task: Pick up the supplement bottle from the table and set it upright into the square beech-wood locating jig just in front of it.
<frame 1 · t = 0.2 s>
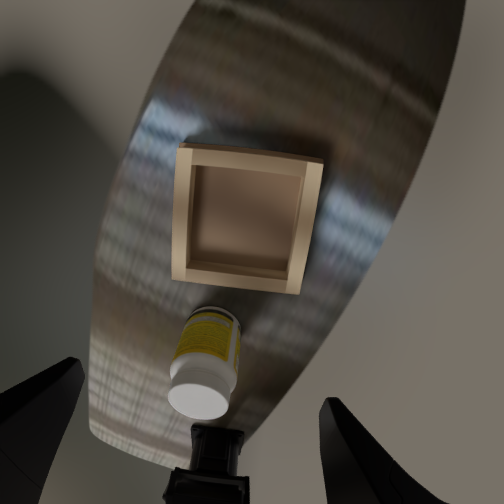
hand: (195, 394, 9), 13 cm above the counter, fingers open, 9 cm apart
jig cradle: (243, 215, 20), on the counter
supplement bottle: (214, 326, 24), on the counter
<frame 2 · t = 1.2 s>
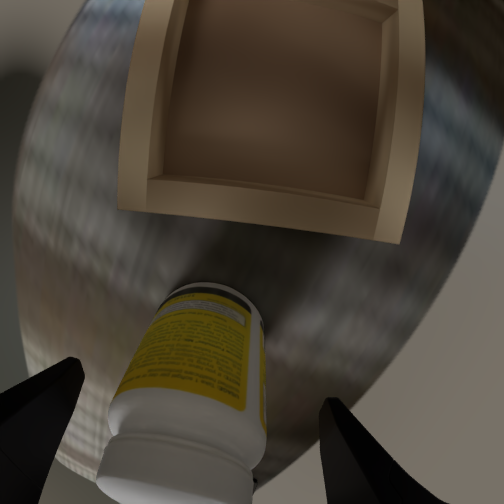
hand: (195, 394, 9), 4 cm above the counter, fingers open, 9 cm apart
jig cradle: (276, 87, 9), on the counter
supplement bottle: (211, 324, 13), on the counter
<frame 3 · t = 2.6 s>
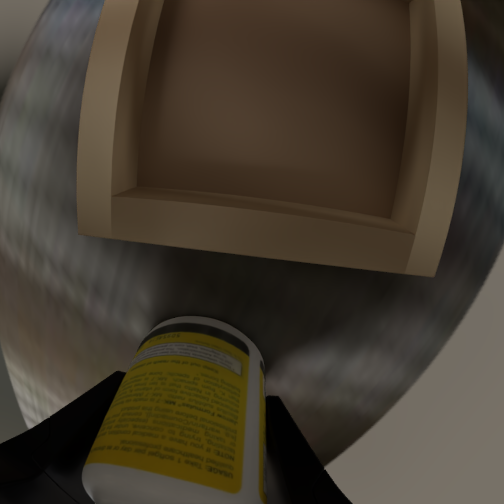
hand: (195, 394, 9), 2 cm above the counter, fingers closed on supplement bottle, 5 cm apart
jig cradle: (281, 74, 7), on the counter
supplement bottle: (203, 360, 10), on the counter, touching gripper
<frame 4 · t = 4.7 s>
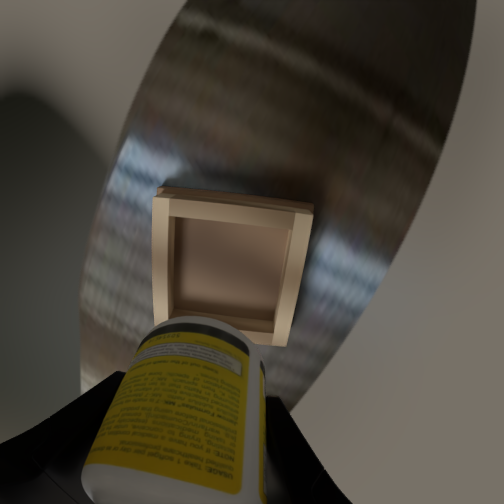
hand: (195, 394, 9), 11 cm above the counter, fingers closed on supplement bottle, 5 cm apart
jig cradle: (228, 264, 19), on the counter
supplement bottle: (203, 360, 10), point 9 cm above the counter, touching gripper
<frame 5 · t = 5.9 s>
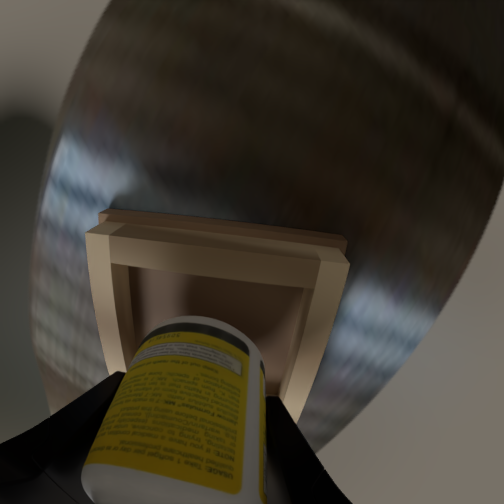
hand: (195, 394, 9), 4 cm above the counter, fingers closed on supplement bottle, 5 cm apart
jig cradle: (212, 323, 13), on the counter
supplement bottle: (203, 360, 10), point 2 cm above the counter, touching gripper
when the fingers open (4 cm above the counter, at t = 6.8 s): supplement bottle drops 1 cm, resting on jig cradle.
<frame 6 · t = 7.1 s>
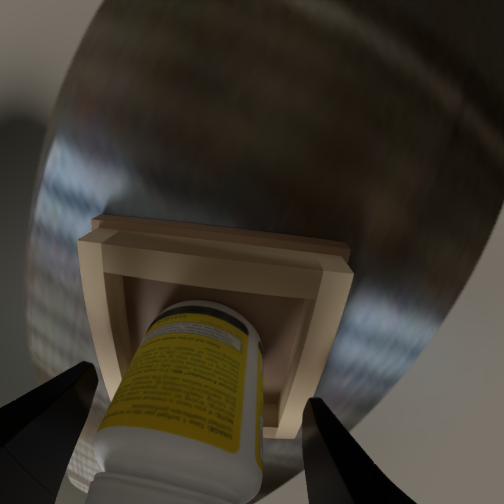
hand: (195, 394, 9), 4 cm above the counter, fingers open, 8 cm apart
jig cradle: (209, 333, 12), on the counter
supplement bottle: (206, 342, 12), point 1 cm above the counter, touching jig cradle
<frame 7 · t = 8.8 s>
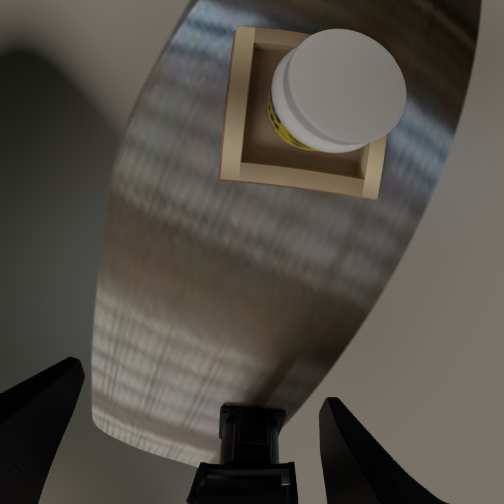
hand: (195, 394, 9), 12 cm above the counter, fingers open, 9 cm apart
jig cradle: (305, 111, 16), on the counter
supplement bottle: (306, 111, 15), point 1 cm above the counter, touching jig cradle
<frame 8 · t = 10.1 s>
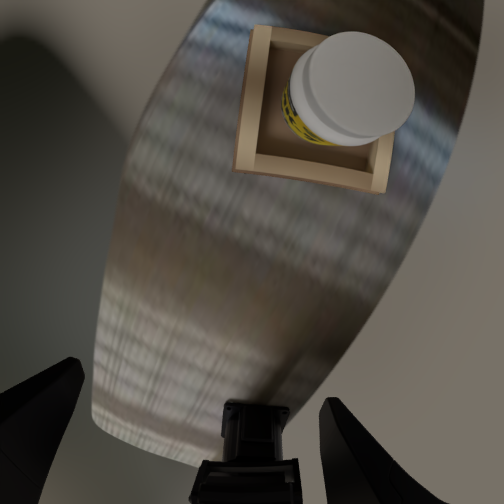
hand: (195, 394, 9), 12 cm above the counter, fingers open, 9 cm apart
jig cradle: (317, 109, 16), on the counter
supplement bottle: (318, 108, 16), point 1 cm above the counter, touching jig cradle
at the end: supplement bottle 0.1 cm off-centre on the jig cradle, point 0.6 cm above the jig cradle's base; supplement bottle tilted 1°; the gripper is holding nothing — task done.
